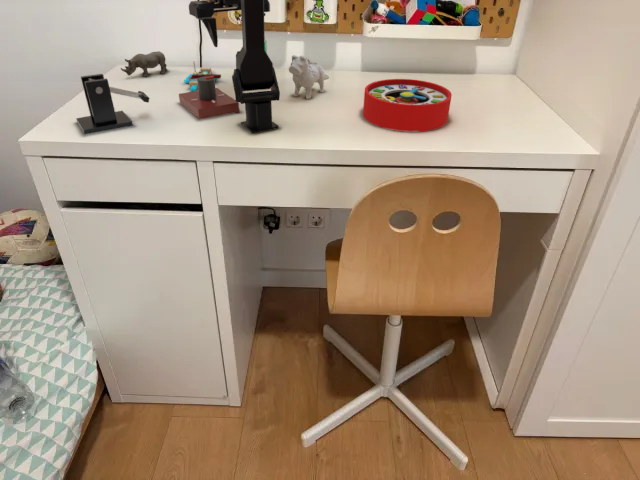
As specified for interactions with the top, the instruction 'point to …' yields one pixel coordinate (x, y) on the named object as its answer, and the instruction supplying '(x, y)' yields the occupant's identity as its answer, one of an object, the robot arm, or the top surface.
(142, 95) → the lever
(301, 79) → the dog figurine
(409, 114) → the toy clock
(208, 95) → the timer dial
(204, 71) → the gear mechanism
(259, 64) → the robot arm
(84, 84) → the lever bracket
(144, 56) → the rhino figurine
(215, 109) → the dial panel
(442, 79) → the top surface
